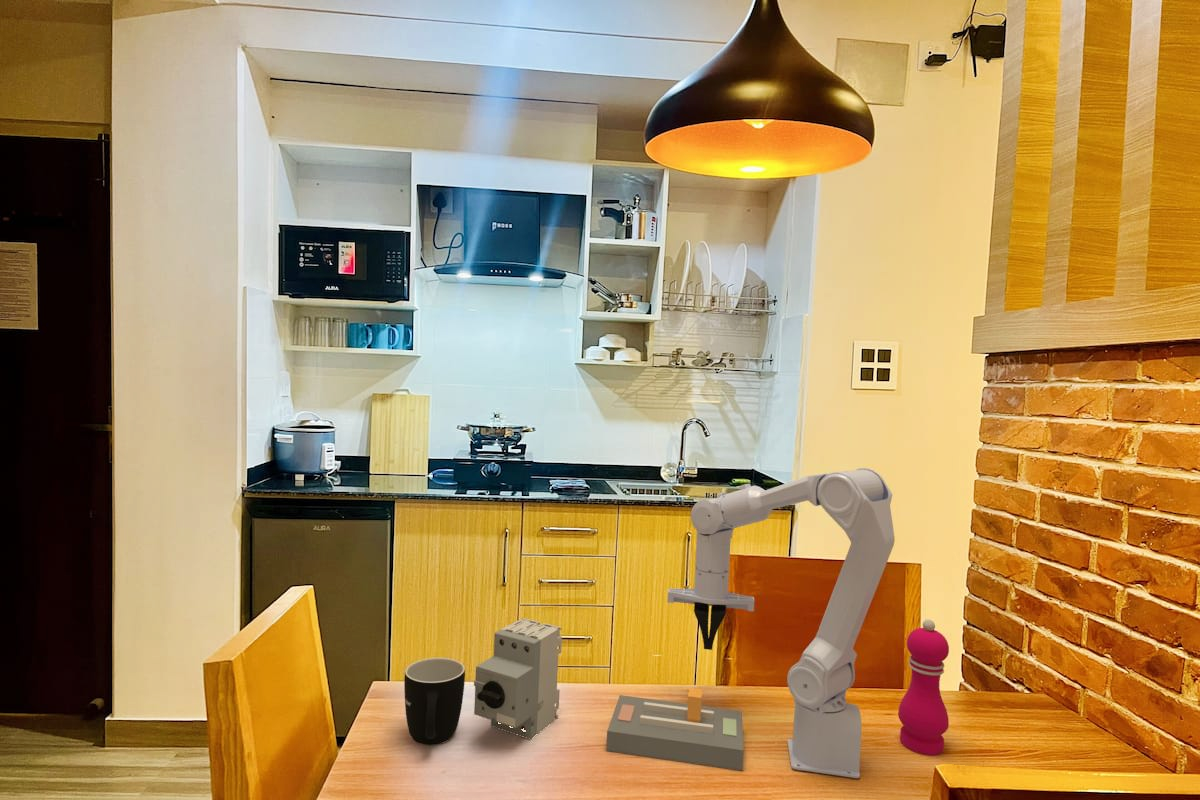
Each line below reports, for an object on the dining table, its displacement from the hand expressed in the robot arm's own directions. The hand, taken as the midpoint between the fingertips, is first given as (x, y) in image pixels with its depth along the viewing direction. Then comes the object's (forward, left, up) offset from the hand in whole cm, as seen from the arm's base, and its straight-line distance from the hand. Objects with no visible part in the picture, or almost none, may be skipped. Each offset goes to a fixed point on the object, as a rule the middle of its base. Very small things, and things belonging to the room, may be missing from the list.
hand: (708, 647), depth 117 cm
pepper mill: (-34, +3, -11) cm, 36 cm away
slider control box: (+4, +12, -10) cm, 16 cm away
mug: (+40, +22, -11) cm, 47 cm away
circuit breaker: (+29, +16, -11) cm, 35 cm away
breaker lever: (+1, +12, -7) cm, 14 cm away
